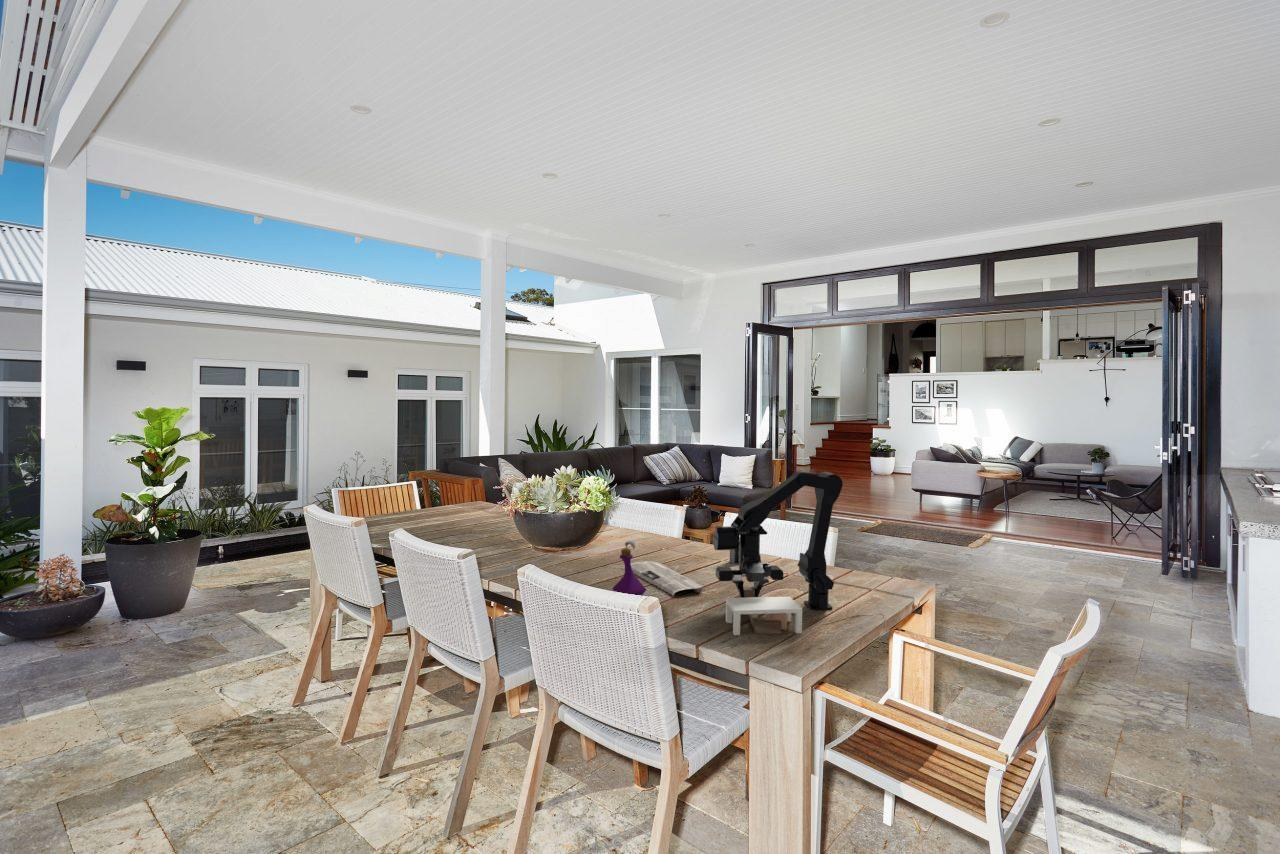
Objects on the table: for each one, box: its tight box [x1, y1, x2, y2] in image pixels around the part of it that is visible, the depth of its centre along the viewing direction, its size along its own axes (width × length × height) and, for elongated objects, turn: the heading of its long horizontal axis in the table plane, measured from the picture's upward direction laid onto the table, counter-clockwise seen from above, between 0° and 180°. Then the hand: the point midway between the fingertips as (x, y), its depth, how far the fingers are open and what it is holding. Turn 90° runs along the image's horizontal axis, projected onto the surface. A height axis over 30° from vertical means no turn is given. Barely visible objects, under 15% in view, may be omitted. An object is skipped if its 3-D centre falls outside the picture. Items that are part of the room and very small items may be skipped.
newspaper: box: [630, 560, 706, 597], centre depth 215 cm, size 35×12×4 cm, turn 27°
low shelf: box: [725, 596, 803, 636], centre depth 173 cm, size 10×18×6 cm, turn 95°
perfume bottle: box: [611, 540, 647, 596], centre depth 195 cm, size 8×8×18 cm
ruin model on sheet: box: [729, 543, 740, 565], centre depth 239 cm, size 11×3×10 cm, turn 117°
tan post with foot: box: [743, 586, 782, 635], centre depth 179 cm, size 20×7×6 cm, turn 179°
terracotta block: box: [767, 613, 788, 631], centre depth 174 cm, size 4×4×4 cm
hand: (748, 602), depth 188 cm, fingers closed on tan post with foot, 3 cm apart
